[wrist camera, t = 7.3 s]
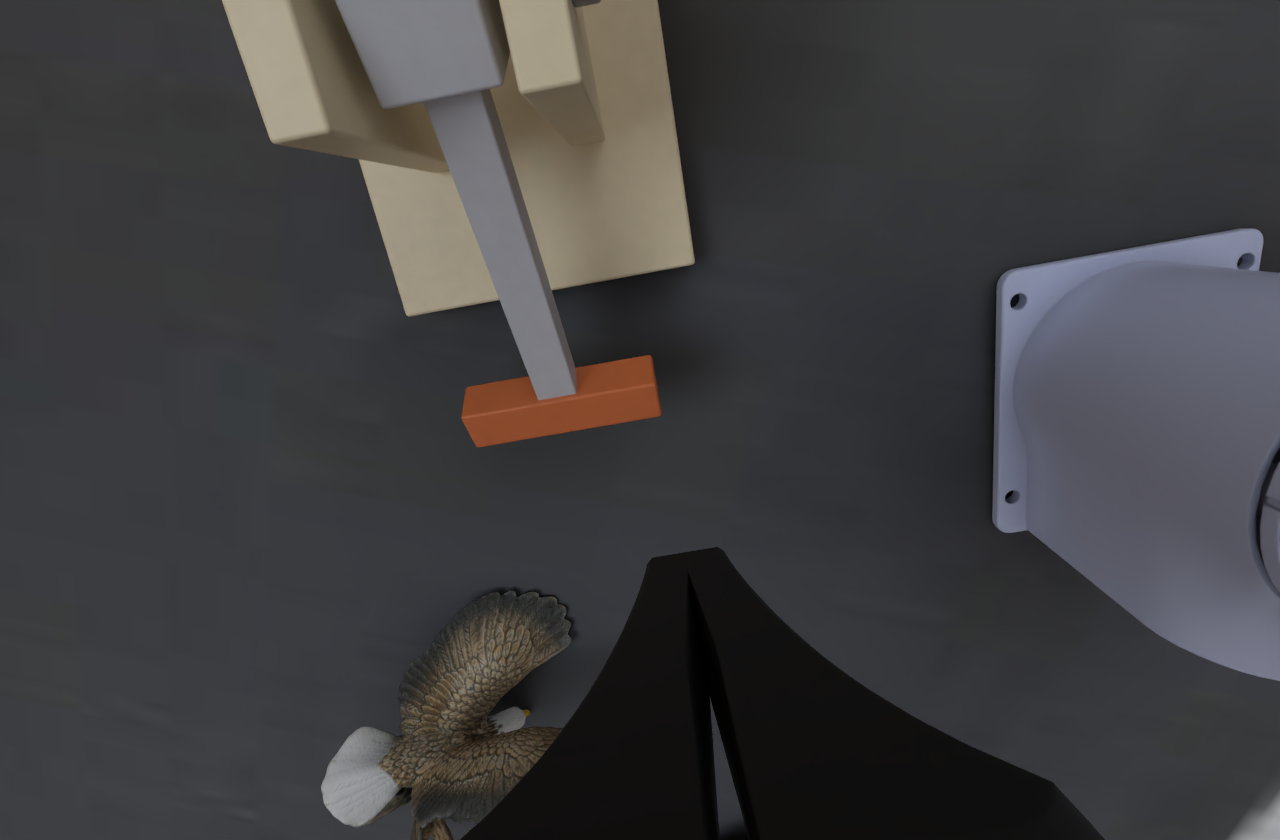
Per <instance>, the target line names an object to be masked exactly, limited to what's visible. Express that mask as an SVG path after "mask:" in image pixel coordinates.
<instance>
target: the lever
mask: <svg viewBox="0 0 1280 840" xmlns="http://www.w3.org/2000/svg"><path fill="white" fill-rule="evenodd" d="M335 2H336V4H337V6H338V9H339V11H340V13H341V16H342V18H343V20H344V22H345V25H346V27H347V29H348V32H349V34H350V36H351V39H352V41H353V43H354V45H355V48H356V50H357V52H358V55H359V57H360V59H361V62H362V64H363V66H364V68H365V71H366V73H367V75H368V78H369V80H370V82H371V85H372V87H373V89H374V91H375V94H376V96H377V98H378V101H379V103H380V105H381V107H382V108H383V109H391V108H396V107H401V106H406V105H411V104H416V103H421V102H424V105H425V107H426V110H427V113H428V115H429V118H430V120H431V123H432V126H433V128H434V131H435V133H436V136H437V139H438V141H439V144H440V146H441V149H442V152H443V154H444V157H445V159H446V162H447V165H448V167H449V170H450V172H451V175H452V178H453V180H454V183H455V185H456V188H457V191H458V193H459V196H460V198H461V201H462V204H463V206H464V209H465V211H466V214H467V217H468V219H469V222H470V224H471V227H472V230H473V232H474V235H475V237H476V240H477V243H478V245H479V248H480V250H481V253H482V256H483V258H484V261H485V263H486V266H487V268H488V271H489V274H490V276H491V279H492V281H493V284H494V287H495V289H496V292H497V294H498V297H499V300H500V302H501V305H502V307H503V310H504V313H505V315H506V318H507V320H508V323H509V326H510V328H511V331H512V333H513V336H514V339H515V341H516V344H517V346H518V349H519V352H520V354H521V357H522V359H523V362H524V365H525V367H526V370H527V372H528V375H529V376H526V377H521V378H515V379H509V380H504V381H498V382H492V383H487V384H481V385H475V386H470V387H467V388H466V392H465V398H464V404H463V410H462V416H461V418H462V420H463V422H464V424H465V426H466V428H467V430H468V432H469V434H470V436H471V437H472V439H473V441H474V443H475V445H476V447H484V446H490V445H496V444H502V443H508V442H513V441H519V440H525V439H531V438H537V437H543V436H548V435H554V434H560V433H566V432H572V431H578V430H583V429H589V428H595V427H601V426H607V425H613V424H618V423H624V422H630V421H636V420H642V419H648V418H653V417H659V416H661V406H660V400H659V394H658V388H657V382H656V377H655V371H654V366H653V360H652V357H651V355H645V356H640V357H634V358H628V359H623V360H617V361H611V362H606V363H600V364H594V365H589V366H583V367H577V368H575V365H574V362H573V359H572V355H571V352H570V349H569V346H568V342H567V339H566V336H565V333H564V329H563V326H562V323H561V320H560V316H559V313H558V310H557V306H556V303H555V300H554V297H553V293H552V290H551V287H550V284H549V280H548V277H547V274H546V271H545V267H544V264H543V261H542V258H541V254H540V251H539V248H538V244H537V241H536V238H535V235H534V231H533V228H532V225H531V222H530V218H529V215H528V212H527V209H526V205H525V202H524V199H523V195H522V192H521V189H520V186H519V182H518V179H517V176H516V173H515V169H514V166H513V163H512V160H511V156H510V153H509V150H508V146H507V143H506V140H505V137H504V133H503V130H502V127H501V124H500V120H499V117H498V114H497V111H496V107H495V104H494V101H493V97H492V94H491V91H490V89H491V88H496V87H500V86H502V85H503V82H504V78H505V73H506V69H507V64H508V59H509V55H510V49H509V44H508V39H507V35H506V30H505V26H504V21H503V16H502V12H501V7H500V3H499V0H335Z"/></svg>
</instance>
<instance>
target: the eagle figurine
mask: <svg viewBox="0 0 1280 840" xmlns="http://www.w3.org/2000/svg"><path fill="white" fill-rule="evenodd" d="M565 615H566V608H565V606H564V605H559V604H557V599H556V598H555V597H552V596H548V597H539V594H538V593H536V592H528V593H525V594H522V595H521V596H520V597H516V593H515V591H512V590H510V591H508V592H507V593H505V594H503V595H501V596H500V593H497V592H494V593H490V594H489V595H486V596H483V597H481V598H479V600H478V601H474V602H470V603H469V604H467V606H466V607H465V609H464V610H462V611H458V612H457V613H456V614H455V616H454V618H453V621H452V622H451V623H449V624H448V625H447V626H446V627H445V628H444V629H443V630H441V632H440V633H439V636H438V640H437V641H433V642H432V643H431V645H430V646H429V648H427V649H425V651H424V652H423V654H422V657H421V658H419V657H418V658H416V659H415V661H414V662H413V663H411V664H410V665H409V669H408V670H407V671H406V673H405V675H404V681H403V683H402V684H401V685H400V687H399V690H400V694H399V698H398V700H399V702H400V705H401V708H400V716H401V717H402V719H403V721H402V723H401V724H400V729H401V731H402V736H395V735H394V734H392V733H388V732H385V731H383V730H379V729H377V728H373V727H366V726H365V727H360V728H359V729H357V730H355V732H354V733H352V734H351V735H350V736H349V737H348V738H347V739H346V741H345V742H344V744H343V745H342V747H341V748H340V750H339V751H338V753H337V754H336V755H335V757H333V759H332V760H331V761H330V763H329V765H328V767H327V772H326V776H325V778H324V780H323V782H322V785H321V791H322V793H323V802H324V804H325V806H326V807H327V809H328V810H329V811H330V812H331V813H332V815H333V816H334V817H335V818H337V819H338V820H340V821H341V822H342V823H343V824H346V825H351V826H353V827H360V826H363V825H369V824H371V823H373V822H374V821H376V820H377V819H379V818H381V817H383V816H385V815H387V814H389V813H390V812H392V811H394V810H395V809H397V808H398V807H400V806H403V805H406V804H407V803H408V802H409V801H410V800H411V801H410V806H411V808H412V809H411V814H412V815H413V818H414V819H415V820H414V824H413V829H412V834H411V839H410V840H427V839H428V838H429V836H430V834H431V835H432V837H433V838H434V840H453V838H452V834H451V831H450V830H449V828H448V826H447V825H446V822H445V819H448V818H450V819H452V820H453V821H454V822H456V823H461V822H470V821H474V822H476V823H477V824H478V823H479V822H480V821H481V820H482V819H483V818H484V817H486V816H487V815H488V814H489V813H490V812H491V811H492V810H493V809H494V808H495V807H496V806H497V805H498V804H499V803H500V802H501V801H502V800H503V798H504V797H505V796H506V795H507V794H508V793H509V792H510V791H511V790H512V789H513V788H514V787H515V785H516V784H517V783H518V782H519V781H520V780H521V779H522V778H523V777H524V776H525V774H526V773H527V772H528V771H529V770H530V769H531V768H532V767H533V766H534V765H535V763H536V762H537V761H538V760H539V759H540V758H541V756H542V755H543V754H544V753H545V751H546V750H547V749H548V748H549V746H550V745H551V744H552V743H553V741H554V740H555V739H556V737H557V736H558V735H559V733H560V732H561V731H562V729H563V728H554V727H537V726H535V727H529V728H523V729H519V728H521V727H522V726H523V725H524V723H525V718H526V717H527V716H528V715H529V714H530V711H529V710H527V709H525V710H521V709H519V708H518V707H512V708H509V709H506V710H504V711H501V712H499V713H497V714H495V715H491V716H488V714H489V713H490V711H491V710H492V709H493V707H494V706H495V705H496V703H497V702H498V701H499V700H500V699H501V698H502V697H503V696H504V695H505V694H506V693H507V692H508V691H509V690H510V689H511V688H513V687H514V686H515V685H516V684H518V683H519V682H520V681H521V680H522V679H523V678H524V677H525V676H526V675H527V674H528V673H529V672H530V671H532V670H533V669H535V668H537V667H538V666H540V665H541V664H543V663H545V662H546V661H548V660H549V659H550V658H552V657H553V656H555V655H557V654H559V653H560V652H561V651H563V650H564V649H565V648H566V647H567V646H569V645H570V643H571V637H570V636H569V635H568V632H569V629H570V627H571V623H570V622H569V621H568V620H566V619H564V617H565Z"/></svg>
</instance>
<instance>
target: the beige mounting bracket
mask: <svg viewBox="0 0 1280 840" xmlns="http://www.w3.org/2000/svg"><path fill="white" fill-rule="evenodd" d="M222 2H223V5H224V8H225V11H226V14H227V17H228V20H229V23H230V25H231V28H232V31H233V34H234V37H235V40H236V43H237V46H238V48H239V51H240V54H241V57H242V60H243V63H244V66H245V69H246V71H247V74H248V77H249V80H250V83H251V86H252V89H253V92H254V94H255V97H256V100H257V103H258V106H259V109H260V112H261V115H262V118H263V120H264V123H265V126H266V129H267V132H268V135H269V138H270V140H271V141H272V142H273V143H274V144H278V145H284V146H289V147H295V148H300V149H306V150H311V151H317V152H322V153H328V154H333V155H339V156H344V157H350V158H355V159H359V162H360V165H361V169H362V172H363V175H364V179H365V182H366V185H367V188H368V192H369V195H370V198H371V201H372V205H373V208H374V211H375V214H376V218H377V221H378V224H379V228H380V231H381V234H382V237H383V241H384V244H385V247H386V250H387V254H388V257H389V260H390V263H391V267H392V270H393V273H394V277H395V280H396V283H397V286H398V290H399V293H400V296H401V299H402V303H403V306H404V309H405V313H406V315H407V316H416V315H421V314H426V313H432V312H437V311H443V310H448V309H454V308H459V307H465V306H470V305H476V304H481V303H487V302H492V301H498V300H499V297H498V294H497V292H496V289H495V287H494V284H493V281H492V279H491V276H490V274H489V271H488V268H487V266H486V263H485V261H484V258H483V256H482V253H481V250H480V248H479V245H478V243H477V240H476V237H475V235H474V232H473V230H472V227H471V224H470V222H469V219H468V217H467V214H466V211H465V209H464V206H463V204H462V201H461V198H460V196H459V193H458V191H457V188H456V185H455V183H454V180H453V178H452V175H451V172H450V170H449V167H448V165H447V162H446V159H445V157H444V154H443V152H442V149H441V146H440V144H439V141H438V139H437V136H436V133H435V131H434V128H433V126H432V123H431V120H430V118H429V115H428V113H427V110H426V107H425V105H424V102H421V103H416V104H411V105H406V106H401V107H396V108H391V109H383V108H382V107H381V105H380V103H379V101H378V98H377V96H376V94H375V91H374V89H373V87H372V85H371V82H370V80H369V78H368V75H367V73H366V71H365V68H364V66H363V64H362V62H361V59H360V57H359V55H358V52H357V50H356V48H355V45H354V43H353V41H352V39H351V36H350V34H349V32H348V29H347V27H346V25H345V22H344V20H343V18H342V16H341V13H340V11H339V9H338V6H337V4H336V2H335V0H222ZM499 3H500V7H501V12H502V16H503V21H504V26H505V30H506V35H507V39H508V44H509V49H510V55H509V59H508V64H507V69H506V73H505V78H504V82H503V85H502V86H500V87H496V88H491V89H490V91H491V94H492V97H493V101H494V104H495V107H496V111H497V114H498V117H499V120H500V124H501V127H502V130H503V133H504V137H505V140H506V143H507V146H508V150H509V153H510V156H511V160H512V163H513V166H514V169H515V173H516V176H517V179H518V182H519V186H520V189H521V192H522V195H523V199H524V202H525V205H526V209H527V212H528V215H529V218H530V222H531V225H532V228H533V231H534V235H535V238H536V241H537V244H538V248H539V251H540V254H541V258H542V261H543V264H544V267H545V271H546V274H547V277H548V280H549V284H550V287H551V290H558V289H563V288H569V287H574V286H580V285H585V284H591V283H596V282H601V281H607V280H612V279H618V278H623V277H629V276H634V275H640V274H645V273H651V272H656V271H662V270H667V269H673V268H678V267H683V266H689V265H693V264H694V263H695V259H694V252H693V245H692V238H691V231H690V224H689V217H688V210H687V203H686V196H685V189H684V182H683V175H682V168H681V161H680V154H679V147H678V140H677V133H676V126H675V119H674V112H673V105H672V98H671V91H670V84H669V77H668V70H667V63H666V56H665V49H664V42H663V35H662V28H661V21H660V14H659V7H658V0H499Z"/></svg>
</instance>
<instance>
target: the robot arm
mask: <svg viewBox="0 0 1280 840" xmlns="http://www.w3.org/2000/svg"><path fill="white" fill-rule="evenodd" d="M1262 248H1263V235H1262V234H1261V232H1260V231H1258V230H1257V229H1244V228H1239V229H1234V230H1228V231H1223V232H1217V233H1211V234H1206V235H1200V236H1195V237H1189V238H1183V239H1178V240H1172V241H1166V242H1161V243H1155V244H1150V245H1144V246H1138V247H1133V248H1127V249H1122V250H1116V251H1110V252H1105V253H1099V254H1093V255H1088V256H1082V257H1077V258H1071V259H1065V260H1060V261H1054V262H1049V263H1043V264H1037V265H1032V266H1026V267H1020V268H1015V269H1011V270H1008V271H1006V272H1005V273H1004V274H1003V275H1001V277H1000V279H999V280H998V283H997V293H996V346H995V399H994V453H993V506H992V520H993V524H994V525H995V526H996V527H997V528H998V529H999V530H1000V531H1002V532H1005V533H1013V532H1019V531H1025V530H1028V531H1029V532H1031V533H1032V534H1033V535H1034V536H1036V537H1037V538H1038V539H1039V540H1040V541H1042V542H1043V543H1044V544H1045V545H1047V546H1048V547H1049V548H1050V549H1052V550H1053V551H1054V552H1055V553H1056V554H1058V555H1059V556H1060V557H1061V558H1063V559H1064V560H1065V561H1066V562H1068V563H1069V564H1070V565H1071V566H1072V567H1074V568H1075V569H1076V570H1077V571H1079V572H1080V573H1081V574H1082V575H1084V576H1085V577H1086V578H1087V579H1088V580H1090V581H1091V582H1092V583H1093V584H1095V585H1096V586H1097V587H1098V588H1100V589H1101V590H1102V591H1103V592H1104V593H1106V594H1107V595H1108V596H1109V597H1111V598H1112V599H1113V600H1114V601H1116V602H1117V603H1118V604H1119V605H1120V606H1122V607H1123V608H1124V609H1125V610H1127V611H1128V612H1129V613H1130V614H1132V615H1133V616H1134V617H1135V618H1136V619H1138V620H1139V621H1140V622H1141V623H1143V624H1144V625H1145V626H1146V627H1148V628H1149V629H1151V630H1152V631H1154V632H1155V633H1157V634H1158V635H1159V636H1161V637H1163V638H1165V639H1166V640H1168V641H1170V642H1172V643H1173V644H1175V645H1177V646H1179V647H1181V648H1183V649H1185V650H1187V651H1189V652H1192V653H1194V654H1196V655H1198V656H1200V657H1203V658H1205V659H1208V660H1210V661H1213V662H1215V663H1218V664H1220V665H1223V666H1226V667H1228V668H1231V669H1234V670H1237V671H1241V672H1244V673H1247V674H1251V675H1254V676H1258V677H1262V678H1267V679H1271V680H1277V681H1280V273H1274V272H1264V271H1259V266H1260V260H1261V254H1262ZM1241 256H1242V262H1241V264H1240V265H1239V266H1238V267H1237V262H1238V259H1239V258H1240V257H1241ZM1016 294H1019V302H1018V304H1017V305H1016V306H1015V307H1012V308H1011V305H1010V301H1011V298H1012V297H1013V296H1014V295H1016ZM1012 490H1013V494H1012V495H1011V496H1010V497H1009V498H1006V499H1005V496H1006V494H1007V493H1008V492H1009V491H1012ZM710 698H711V702H712V706H713V709H714V713H715V717H716V720H717V724H718V728H719V731H720V735H721V738H722V742H723V746H724V749H725V753H726V757H727V760H728V764H729V768H730V771H731V775H732V778H733V782H734V786H735V789H736V793H737V797H738V800H739V804H740V807H741V811H742V815H743V819H744V823H745V827H746V832H747V836H748V840H1105V839H1104V838H1103V837H1102V836H1101V835H1100V834H1099V832H1098V831H1097V830H1096V829H1095V828H1094V827H1093V826H1092V824H1091V823H1090V822H1089V821H1088V820H1087V819H1086V818H1085V817H1084V816H1083V815H1082V814H1081V812H1080V811H1079V810H1078V809H1077V808H1076V807H1075V806H1074V805H1073V804H1072V803H1071V802H1070V801H1069V800H1068V798H1067V797H1066V796H1065V795H1064V794H1063V793H1062V792H1061V791H1060V790H1059V789H1058V788H1057V786H1056V785H1055V784H1054V783H1052V782H1051V781H1049V780H1046V779H1044V778H1042V777H1040V776H1037V775H1035V774H1033V773H1030V772H1028V771H1026V770H1024V769H1021V768H1019V767H1017V766H1014V765H1012V764H1010V763H1008V762H1005V761H1003V760H1001V759H998V758H996V757H994V756H992V755H989V754H987V753H985V752H982V751H980V750H978V749H976V748H973V747H971V746H969V745H967V744H965V743H963V742H961V741H959V740H957V739H955V738H953V737H951V736H949V735H947V734H945V733H943V732H941V731H940V730H938V729H936V728H934V727H932V726H930V725H928V724H926V723H924V722H922V721H920V720H919V719H917V718H915V717H913V716H912V715H910V714H908V713H907V712H905V711H903V710H902V709H900V708H898V707H897V706H895V705H893V704H892V703H890V702H888V701H887V700H885V699H884V698H882V697H880V696H879V695H877V694H875V693H874V692H872V691H870V690H869V689H867V688H866V687H864V686H863V685H862V684H860V683H859V682H857V681H856V680H854V679H853V678H852V677H850V676H849V675H847V674H846V673H844V672H843V671H842V670H840V669H839V668H838V667H837V666H835V665H834V664H833V663H831V662H830V661H829V660H827V659H826V658H825V657H823V656H822V655H821V654H820V653H819V652H817V651H816V650H815V649H814V648H812V647H811V646H810V645H809V644H808V643H807V642H805V641H804V640H803V639H802V638H801V637H800V636H799V635H798V634H796V633H795V632H794V631H793V630H792V629H791V628H790V627H789V626H788V625H787V624H786V623H784V622H783V621H782V620H781V619H780V618H779V617H778V616H777V615H776V614H775V613H774V612H773V611H772V610H771V609H770V608H769V606H768V605H767V604H766V603H765V602H764V601H763V600H762V599H761V598H760V597H759V596H758V595H757V594H756V593H755V592H754V590H753V589H752V588H751V587H750V586H749V585H748V584H747V582H746V581H745V580H744V579H743V577H742V576H741V575H740V574H739V572H738V571H737V570H736V569H735V567H734V566H733V565H732V563H731V562H730V560H729V559H728V557H727V556H726V554H725V552H724V551H723V550H721V549H720V548H718V547H715V548H709V549H703V550H697V551H691V552H685V553H679V554H672V555H666V556H660V557H654V558H652V559H651V560H650V561H649V563H648V564H647V568H646V572H645V576H644V579H643V582H642V585H641V588H640V591H639V594H638V596H637V599H636V602H635V604H634V606H633V609H632V611H631V613H630V616H629V618H628V620H627V622H626V625H625V627H624V629H623V631H622V633H621V636H620V638H619V639H618V641H617V643H616V645H615V647H614V649H613V651H612V653H611V655H610V656H609V658H608V660H607V662H606V664H605V666H604V668H603V669H602V671H601V673H600V675H599V676H598V678H597V680H596V681H595V683H594V685H593V686H592V688H591V689H590V691H589V692H588V694H587V695H586V697H585V698H584V700H583V701H582V703H581V704H580V706H579V707H578V709H577V710H576V712H575V713H574V715H573V716H572V717H571V719H570V720H569V721H568V723H567V724H566V725H565V727H564V728H563V729H562V731H561V732H560V733H559V735H558V736H557V737H556V739H555V740H554V741H553V743H552V744H551V745H550V746H549V748H548V749H547V750H546V751H545V753H544V754H543V755H542V756H541V758H540V759H539V760H538V761H537V762H536V763H535V765H534V766H533V767H532V768H531V769H530V770H529V771H528V772H527V773H526V774H525V776H524V777H523V778H522V779H521V780H520V781H519V782H518V783H517V784H516V785H515V787H514V788H513V789H512V790H511V791H510V792H509V793H508V794H507V795H506V796H505V797H504V798H503V800H502V801H501V802H500V803H499V804H498V805H497V806H496V807H495V808H494V809H493V810H492V811H491V812H490V813H489V814H488V815H487V816H486V817H484V818H483V819H482V820H481V821H480V822H479V823H478V824H477V825H476V826H475V827H474V828H473V829H471V830H470V831H469V832H468V833H467V834H466V835H465V836H464V837H463V838H462V839H460V840H720V833H719V823H718V811H717V797H716V782H715V767H714V753H713V738H712V724H711V709H710Z"/></svg>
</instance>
